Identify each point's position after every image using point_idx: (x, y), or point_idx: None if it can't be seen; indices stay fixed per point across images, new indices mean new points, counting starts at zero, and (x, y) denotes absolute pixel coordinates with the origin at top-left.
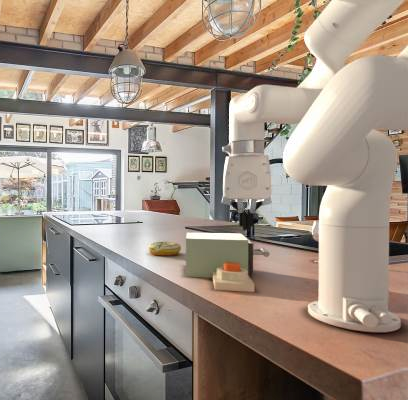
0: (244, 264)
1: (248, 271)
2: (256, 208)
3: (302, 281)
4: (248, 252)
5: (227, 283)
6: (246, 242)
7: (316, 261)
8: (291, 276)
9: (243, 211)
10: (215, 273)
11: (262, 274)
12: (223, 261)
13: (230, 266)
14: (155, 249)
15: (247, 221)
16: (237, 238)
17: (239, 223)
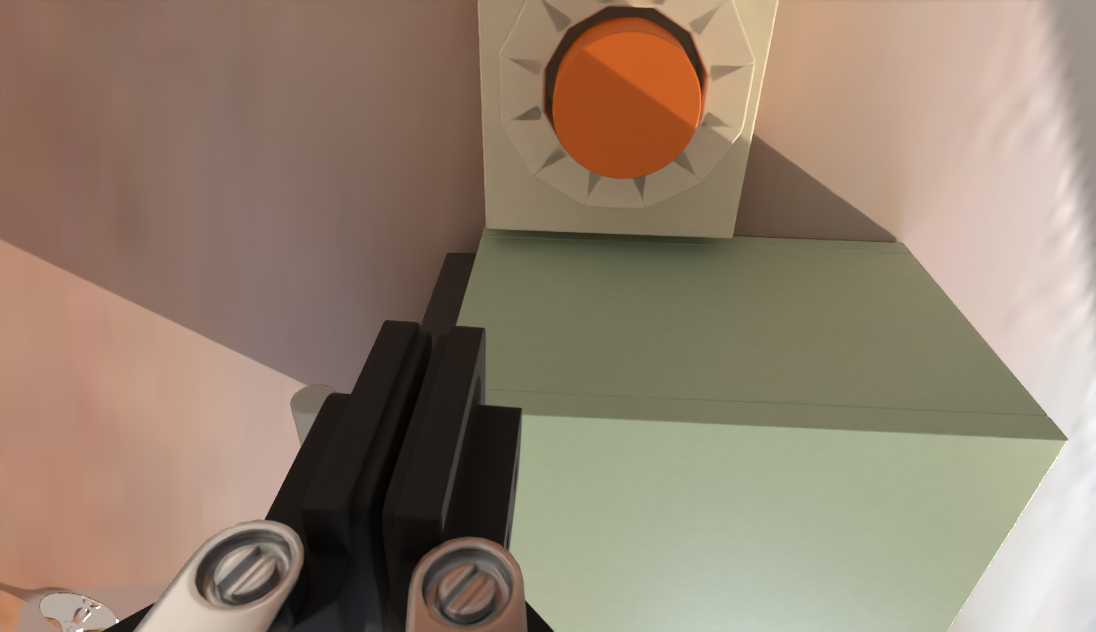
0: (496, 278)
1: (472, 265)
2: (146, 626)
3: (156, 236)
4: None
5: None
6: None
7: (107, 614)
8: (221, 341)
9: (424, 557)
10: (722, 187)
11: None
12: (654, 296)
13: (653, 30)
14: None
15: (395, 407)
16: (524, 477)
17: (518, 425)
